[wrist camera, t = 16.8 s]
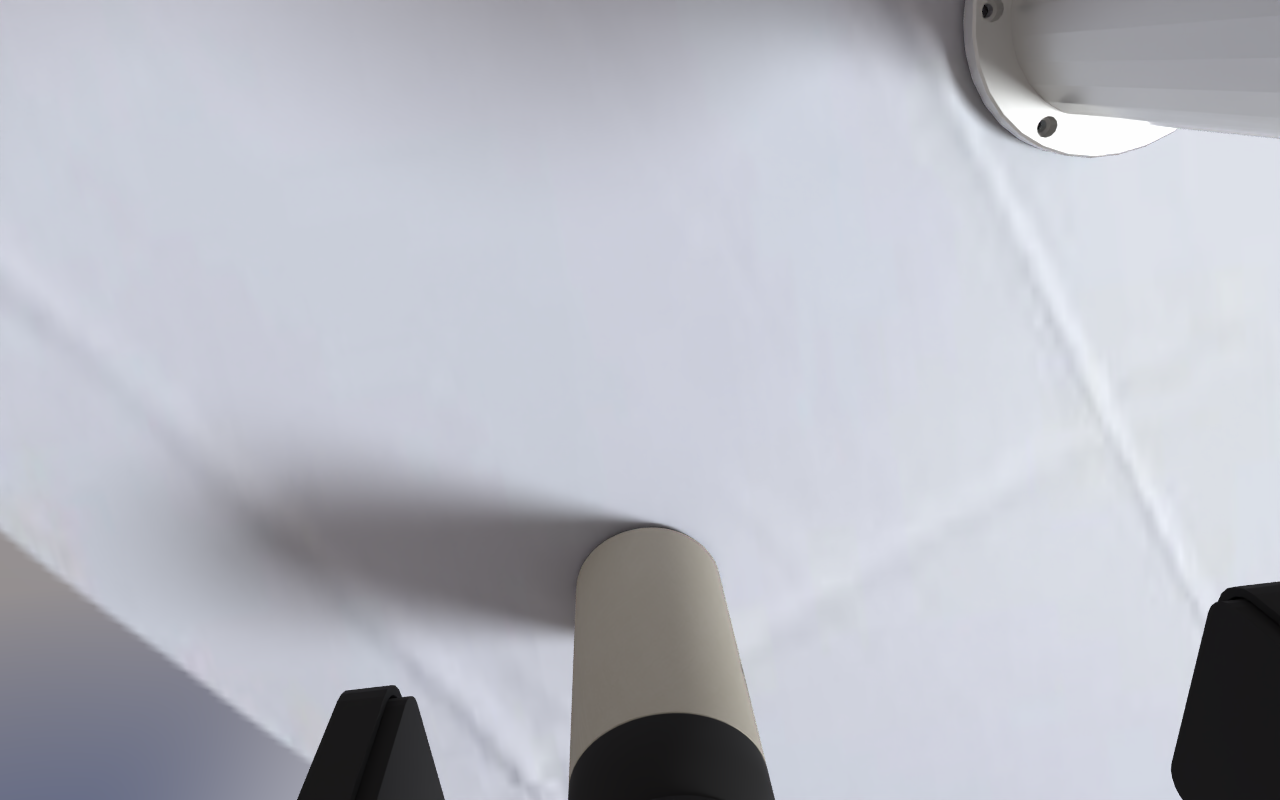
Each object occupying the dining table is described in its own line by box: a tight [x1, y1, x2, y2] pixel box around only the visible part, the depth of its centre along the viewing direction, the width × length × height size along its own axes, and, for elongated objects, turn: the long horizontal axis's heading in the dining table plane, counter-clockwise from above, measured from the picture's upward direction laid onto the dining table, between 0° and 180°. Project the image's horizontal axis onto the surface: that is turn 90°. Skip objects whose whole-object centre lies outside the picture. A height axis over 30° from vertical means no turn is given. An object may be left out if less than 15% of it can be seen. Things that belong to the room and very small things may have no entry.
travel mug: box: [568, 528, 775, 800], centre depth 34 cm, size 8×8×18 cm
